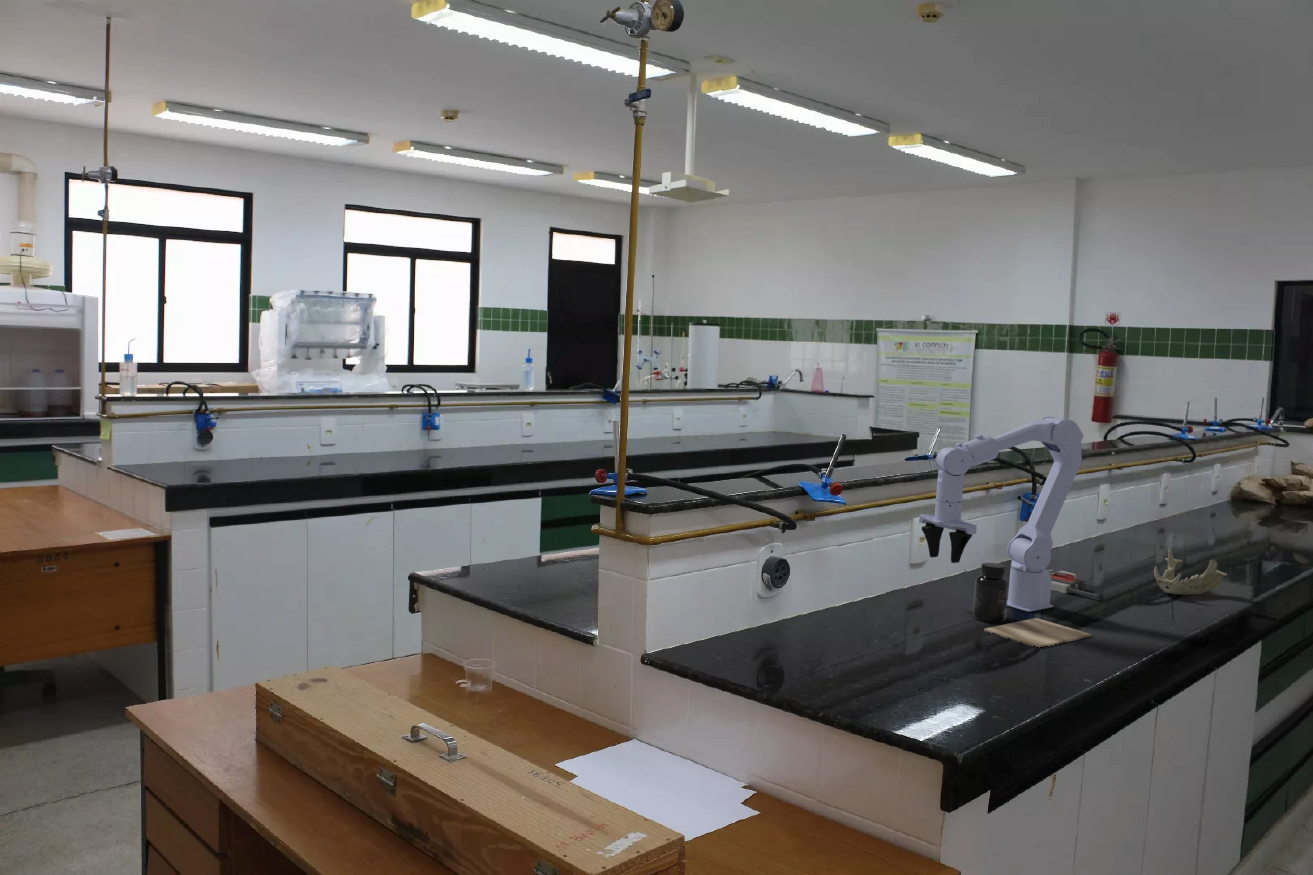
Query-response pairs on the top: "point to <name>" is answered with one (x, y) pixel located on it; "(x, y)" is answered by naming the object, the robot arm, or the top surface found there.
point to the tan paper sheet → (1037, 632)
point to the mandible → (1191, 585)
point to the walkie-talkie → (1069, 583)
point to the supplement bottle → (991, 594)
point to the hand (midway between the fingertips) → (944, 559)
